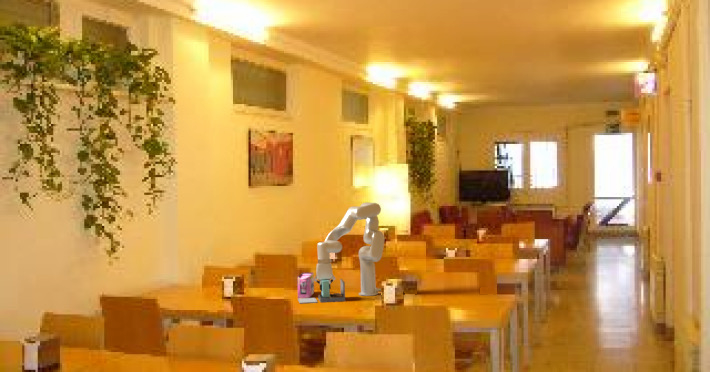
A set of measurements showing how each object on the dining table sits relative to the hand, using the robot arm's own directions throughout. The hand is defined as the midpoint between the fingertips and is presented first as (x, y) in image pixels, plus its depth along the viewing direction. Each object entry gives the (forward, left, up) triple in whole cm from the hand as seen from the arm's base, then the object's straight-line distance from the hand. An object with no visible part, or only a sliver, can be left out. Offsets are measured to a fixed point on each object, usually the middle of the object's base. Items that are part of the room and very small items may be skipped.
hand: (325, 290), depth 514 cm
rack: (-4, 0, -6) cm, 7 cm away
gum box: (+10, -24, -7) cm, 27 cm away
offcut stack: (-8, 0, -7) cm, 10 cm away
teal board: (0, 0, -3) cm, 3 cm away
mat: (+11, 0, -6) cm, 13 cm away
